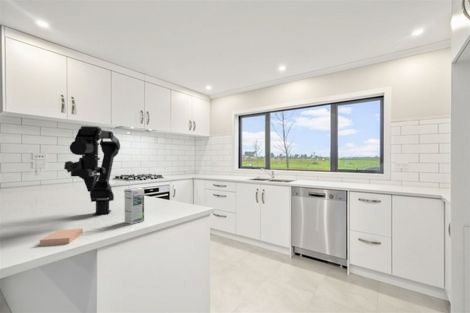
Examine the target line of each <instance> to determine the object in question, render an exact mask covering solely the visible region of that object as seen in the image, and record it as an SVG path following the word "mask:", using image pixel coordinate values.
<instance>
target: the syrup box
mask: <svg viewBox="0 0 470 313" xmlns="http://www.w3.org/2000/svg"><path fill="white" fill-rule="evenodd" d="M123 194H124V222H125V223H127V224H129V225H134V224H137V223H140V222H145V188H144V187H137V186H136V187H132V188H131V187H130V188H124V193H123Z"/></svg>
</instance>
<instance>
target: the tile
mask: <svg viewBox="0 0 470 313" xmlns="http://www.w3.org/2000/svg"><path fill="white" fill-rule="evenodd" d="M83 233H84V231H83V228H71V229H57V230H55V231H53V232H51V233H49V234H48V235H46V236H44V237H43V238H41V239H39V246H40V247H41V246H44V247H45V246H55V245H56V246H57V245H68V244H71V243H72V242H73V241H75V240H77V239H78V238H79V237H80V236H82V235H83Z"/></svg>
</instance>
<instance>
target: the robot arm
mask: <svg viewBox="0 0 470 313" xmlns="http://www.w3.org/2000/svg"><path fill="white" fill-rule="evenodd" d="M104 140H105V141H104ZM98 141H100V142H98ZM99 146H100V148H101V151H102V153H103V158H102V161H101V165H100V166H99V161H100V160H101V157H99ZM120 149H121V143H120V141H119V138H118V137H116V136H115V135H114V133H113V131H111V130H103V129H102V128H101V127H99V126H94V125H93V126H92V125H91V126H90V125H81V126H80V128H79V129H78V131H77V132H76V135H75V138H74V141H72V142H71V143H70V146H69V150H70V152H71V153H72V154H73V155H77V156H81V157H79V158H78V161H75V162H73V161H72V160H68V161H66V162H64V167H63V169H64V170H66V172H67V173H70V177H78V178H80V179H82V180H83V181H84V184H85V186H86V190H87V192H88V193H89V197H90V202H92V203H93V202H95V212H94V213H93V214H92V215H93V216H98V215H99V216H100V215H109V214H110V213H111V212H112V210H111V209H110V202H112V201H114V199H115V197H114V196H115V194H114V192H113V190H112V185H111V183H110V177H111V173H112V169H113V168H112V167H113V165H114V164H113V163H114V158H115V157H116V156H117V155H118V154H119V151H120Z"/></svg>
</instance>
